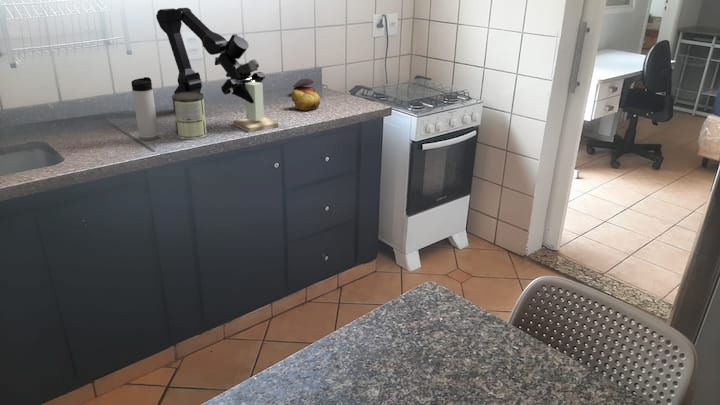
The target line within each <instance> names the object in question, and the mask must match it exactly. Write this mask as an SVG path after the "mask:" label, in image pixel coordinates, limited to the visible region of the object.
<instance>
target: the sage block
mask: <svg viewBox="0 0 720 405" xmlns="http://www.w3.org/2000/svg"><path fill="white" fill-rule="evenodd" d="M263 84H264V83H263V82H261V83H259V82H249V83H245V86H246V90H247V91H248V93H249V94H250V96H251V97H252V99H253V101H254V102H253V103H250V102H248V101H246V100H245V111H246V112H245V113H246V118H247V119H250V120H254V121H257V120H260V119H263V118H264V117H265V110H264V108H265V107H264V88H263V86H264V85H263Z"/></svg>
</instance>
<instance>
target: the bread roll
mask: <svg viewBox="0 0 720 405" xmlns="http://www.w3.org/2000/svg"><path fill="white" fill-rule="evenodd" d="M290 96H291V100H292V102H293V104H294V107H295V109H297V110H299V111H309V110H315V109H318V107H319V106H320V104H321V97H320V96H319V94H318V93H317V92H316V91H315V92H314V91H306V92H301V91H298V90H292V91H291V95H290Z"/></svg>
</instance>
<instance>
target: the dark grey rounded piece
mask: <svg viewBox="0 0 720 405" xmlns="http://www.w3.org/2000/svg"><path fill="white" fill-rule="evenodd" d="M314 82H315V81H314V79H311V78H302V79H300V80H298V81H297V82H296V83H294V85H292V86H293V90H292V91H294V90H298V91H301V92H306V91H314V92H316V88H315V87H313V86H310V85H312V84H314Z"/></svg>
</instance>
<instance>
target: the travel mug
mask: <svg viewBox="0 0 720 405" xmlns="http://www.w3.org/2000/svg"><path fill="white" fill-rule="evenodd" d="M153 89H154V88H153V84H152V79H151V78H150V77H146V76H145V77H141V78H135V79H134V80H132V81H131V90H132V98H133V105H134V111H135V118H136V125H137V132H138V138H139V140H141V141H149V142H150V141H155V140H157V139H158V138H160V137H159V130H158V129H159V128H158V122H157V120H158V119H157V113H156V105H155V99H154V98H155V97H154V91H153Z"/></svg>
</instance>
